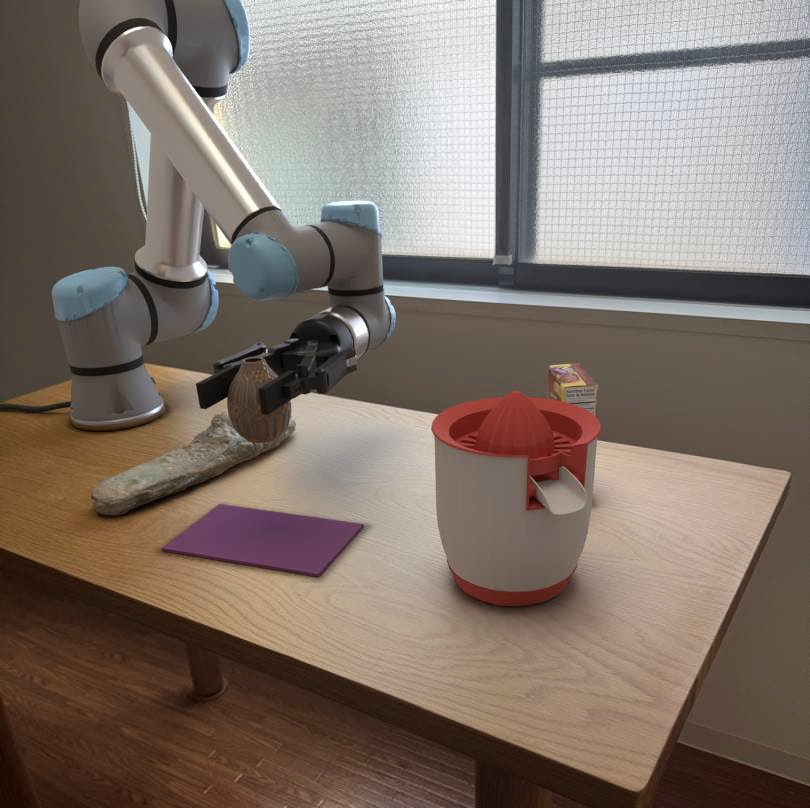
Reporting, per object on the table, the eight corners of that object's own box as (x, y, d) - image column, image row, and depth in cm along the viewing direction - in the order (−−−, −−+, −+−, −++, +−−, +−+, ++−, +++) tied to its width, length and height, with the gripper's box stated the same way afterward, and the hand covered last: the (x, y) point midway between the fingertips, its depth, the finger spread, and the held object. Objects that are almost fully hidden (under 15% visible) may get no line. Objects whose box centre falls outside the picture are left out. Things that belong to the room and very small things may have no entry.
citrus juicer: (489, 648, 69) (492, 439, 59) (411, 562, 83) (403, 382, 73) (631, 604, 74) (655, 405, 64) (535, 530, 88) (542, 358, 78)
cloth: (162, 551, 88) (161, 548, 87) (220, 506, 97) (219, 503, 97) (318, 577, 81) (318, 574, 81) (363, 526, 91) (363, 523, 91)
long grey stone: (77, 515, 100) (126, 538, 95) (66, 480, 97) (115, 501, 92) (265, 421, 123) (312, 435, 118) (261, 390, 120) (309, 403, 115)
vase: (270, 421, 90) (260, 347, 86) (307, 435, 86) (298, 357, 81) (220, 438, 86) (207, 361, 82) (256, 453, 81) (244, 372, 77)
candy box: (542, 478, 101) (547, 363, 93) (574, 476, 101) (582, 362, 93) (556, 508, 93) (563, 385, 86) (591, 506, 93) (601, 383, 86)
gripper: (401, 376, 96) (321, 442, 77) (264, 367, 102) (159, 425, 84) (398, 316, 92) (313, 369, 74) (257, 310, 99) (145, 357, 80)
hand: (231, 399), depth 79 cm, fingers closed on vase, 7 cm apart
